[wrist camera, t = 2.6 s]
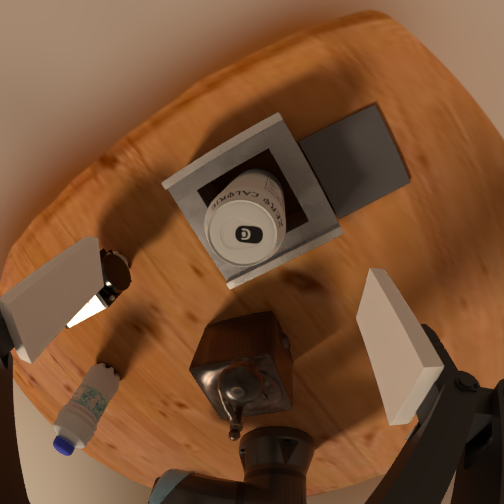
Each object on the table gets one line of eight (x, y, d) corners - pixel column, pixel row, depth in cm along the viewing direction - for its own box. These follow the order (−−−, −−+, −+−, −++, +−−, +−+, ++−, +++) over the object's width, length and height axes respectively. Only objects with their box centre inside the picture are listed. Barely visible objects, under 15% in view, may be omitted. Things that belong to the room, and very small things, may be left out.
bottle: (100, 353, 47) (46, 434, 28) (129, 376, 48) (84, 462, 29) (88, 367, 49) (38, 441, 30) (114, 389, 50) (72, 466, 32)
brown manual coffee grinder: (298, 362, 43) (301, 465, 26) (230, 376, 45) (210, 472, 29) (265, 274, 38) (254, 377, 21) (188, 296, 40) (138, 392, 24)
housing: (237, 264, 38) (229, 289, 32) (181, 174, 34) (161, 183, 28) (332, 216, 35) (343, 233, 28) (278, 116, 31) (278, 111, 25)
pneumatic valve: (154, 261, 39) (112, 308, 28) (99, 292, 42) (57, 337, 30) (132, 226, 37) (81, 262, 26) (79, 262, 40) (31, 301, 29)
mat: (338, 217, 35) (339, 219, 34) (298, 141, 32) (298, 141, 31) (408, 181, 32) (410, 182, 31) (373, 105, 29) (374, 104, 29)
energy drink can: (232, 165, 33) (199, 187, 20) (285, 170, 33) (290, 194, 19) (229, 216, 36) (198, 270, 22) (280, 221, 35) (281, 278, 21)
